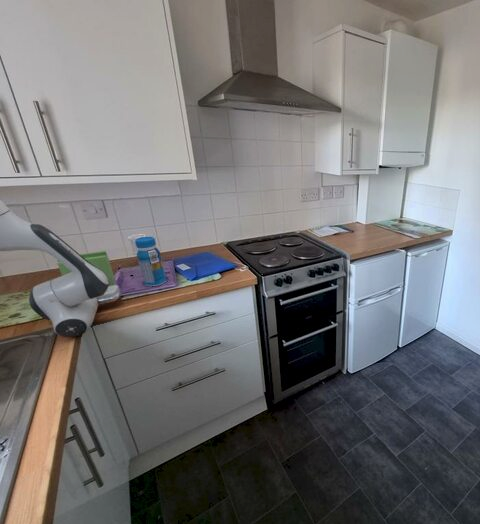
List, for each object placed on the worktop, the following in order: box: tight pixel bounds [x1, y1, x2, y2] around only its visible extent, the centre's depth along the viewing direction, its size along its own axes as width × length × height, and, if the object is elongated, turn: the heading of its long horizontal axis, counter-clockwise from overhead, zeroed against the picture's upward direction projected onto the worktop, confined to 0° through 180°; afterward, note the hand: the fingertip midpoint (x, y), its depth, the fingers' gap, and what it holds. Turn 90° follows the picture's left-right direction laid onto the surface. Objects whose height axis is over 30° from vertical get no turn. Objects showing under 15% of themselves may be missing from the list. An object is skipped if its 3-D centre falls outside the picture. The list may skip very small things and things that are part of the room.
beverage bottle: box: [134, 236, 167, 288], centre depth 125 cm, size 8×8×20 cm
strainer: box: [127, 233, 147, 256], centre depth 148 cm, size 7×7×15 cm
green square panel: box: [56, 250, 118, 286], centre depth 117 cm, size 14×5×16 cm, turn 122°
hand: (88, 289), depth 112 cm, fingers closed on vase, 7 cm apart
